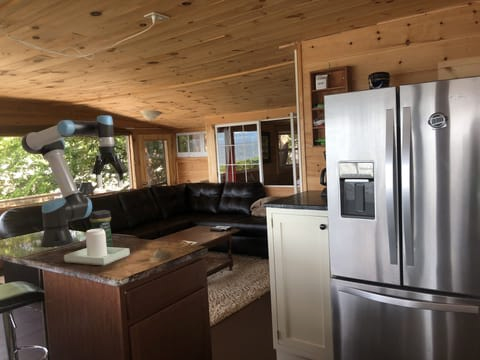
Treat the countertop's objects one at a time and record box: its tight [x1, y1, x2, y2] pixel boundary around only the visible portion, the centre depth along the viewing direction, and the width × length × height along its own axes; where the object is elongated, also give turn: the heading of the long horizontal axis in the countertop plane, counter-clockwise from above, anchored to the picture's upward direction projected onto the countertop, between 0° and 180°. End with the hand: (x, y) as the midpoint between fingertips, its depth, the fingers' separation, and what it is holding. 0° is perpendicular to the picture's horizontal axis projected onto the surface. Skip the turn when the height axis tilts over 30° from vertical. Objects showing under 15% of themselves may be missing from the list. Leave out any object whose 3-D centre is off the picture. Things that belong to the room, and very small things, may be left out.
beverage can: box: [85, 228, 107, 257], centre depth 171 cm, size 8×8×12 cm
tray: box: [63, 246, 131, 266], centre depth 171 cm, size 22×16×3 cm
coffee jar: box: [89, 209, 114, 247], centre depth 190 cm, size 10×8×19 cm
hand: (110, 187), depth 202 cm, fingers open, 13 cm apart
